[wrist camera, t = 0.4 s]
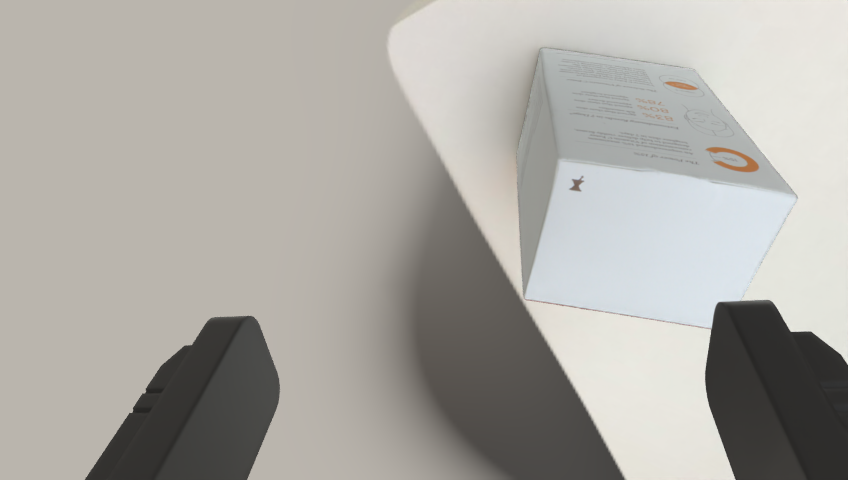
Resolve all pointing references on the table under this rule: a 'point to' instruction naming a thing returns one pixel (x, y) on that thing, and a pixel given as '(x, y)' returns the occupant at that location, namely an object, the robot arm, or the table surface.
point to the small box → (640, 191)
